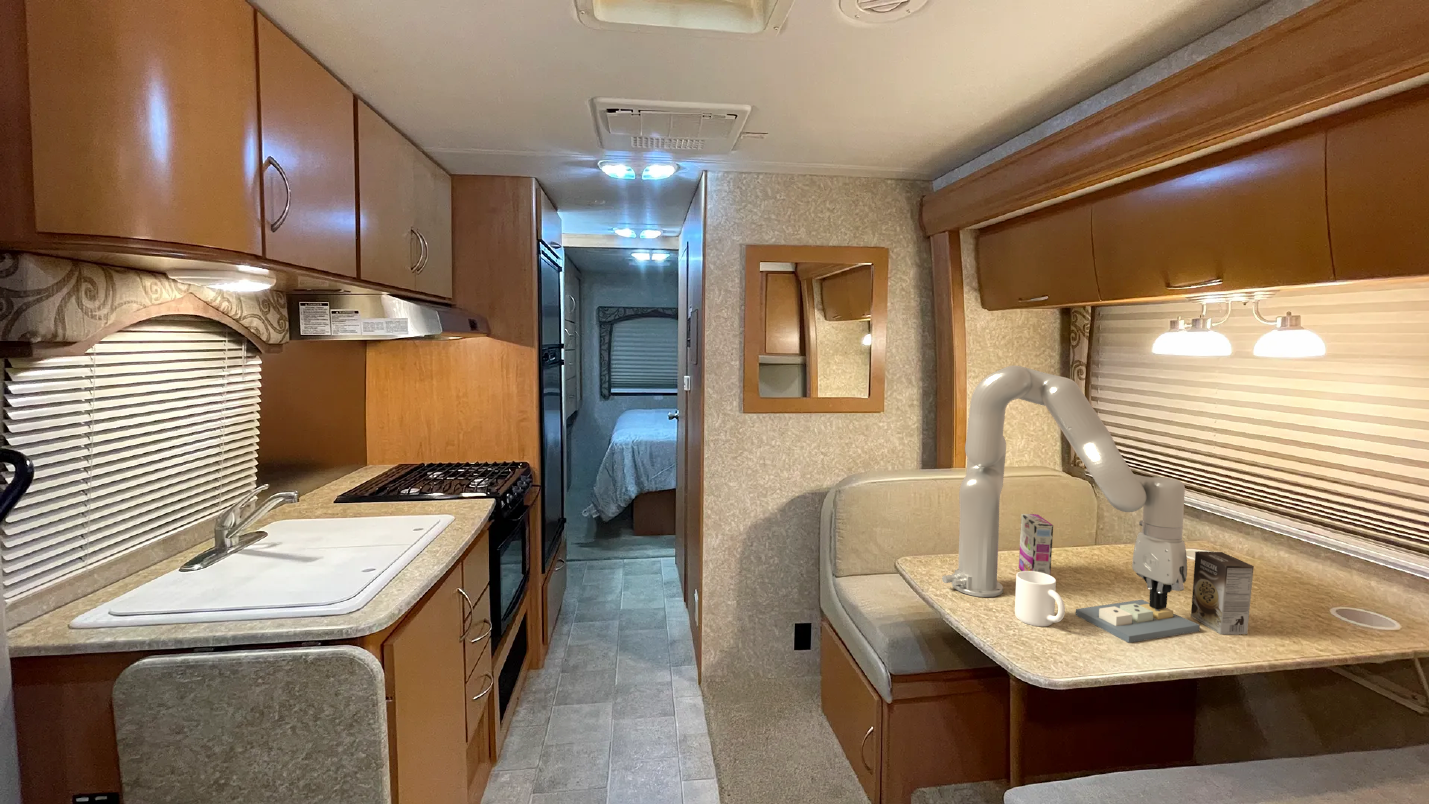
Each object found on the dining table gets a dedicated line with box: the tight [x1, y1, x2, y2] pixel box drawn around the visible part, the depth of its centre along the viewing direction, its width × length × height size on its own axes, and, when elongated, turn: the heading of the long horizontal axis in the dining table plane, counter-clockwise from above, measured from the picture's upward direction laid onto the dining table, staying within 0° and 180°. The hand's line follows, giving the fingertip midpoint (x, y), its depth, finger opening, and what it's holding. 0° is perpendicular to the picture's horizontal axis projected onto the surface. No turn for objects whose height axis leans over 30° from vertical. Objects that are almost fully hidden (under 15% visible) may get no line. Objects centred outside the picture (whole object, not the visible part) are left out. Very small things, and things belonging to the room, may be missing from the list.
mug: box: [1014, 570, 1066, 627], centre depth 140 cm, size 12×8×10 cm
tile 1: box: [1099, 606, 1132, 626], centre depth 139 cm, size 4×4×2 cm
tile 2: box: [1120, 603, 1153, 623], centre depth 140 cm, size 4×4×2 cm
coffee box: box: [1190, 550, 1255, 636], centre depth 138 cm, size 9×6×16 cm
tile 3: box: [1140, 604, 1174, 620], centre depth 142 cm, size 4×4×2 cm
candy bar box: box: [1018, 513, 1054, 576], centre depth 168 cm, size 11×5×16 cm, turn 171°
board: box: [1075, 599, 1201, 644], centre depth 140 cm, size 20×14×2 cm
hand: (1157, 607), depth 141 cm, fingers closed
